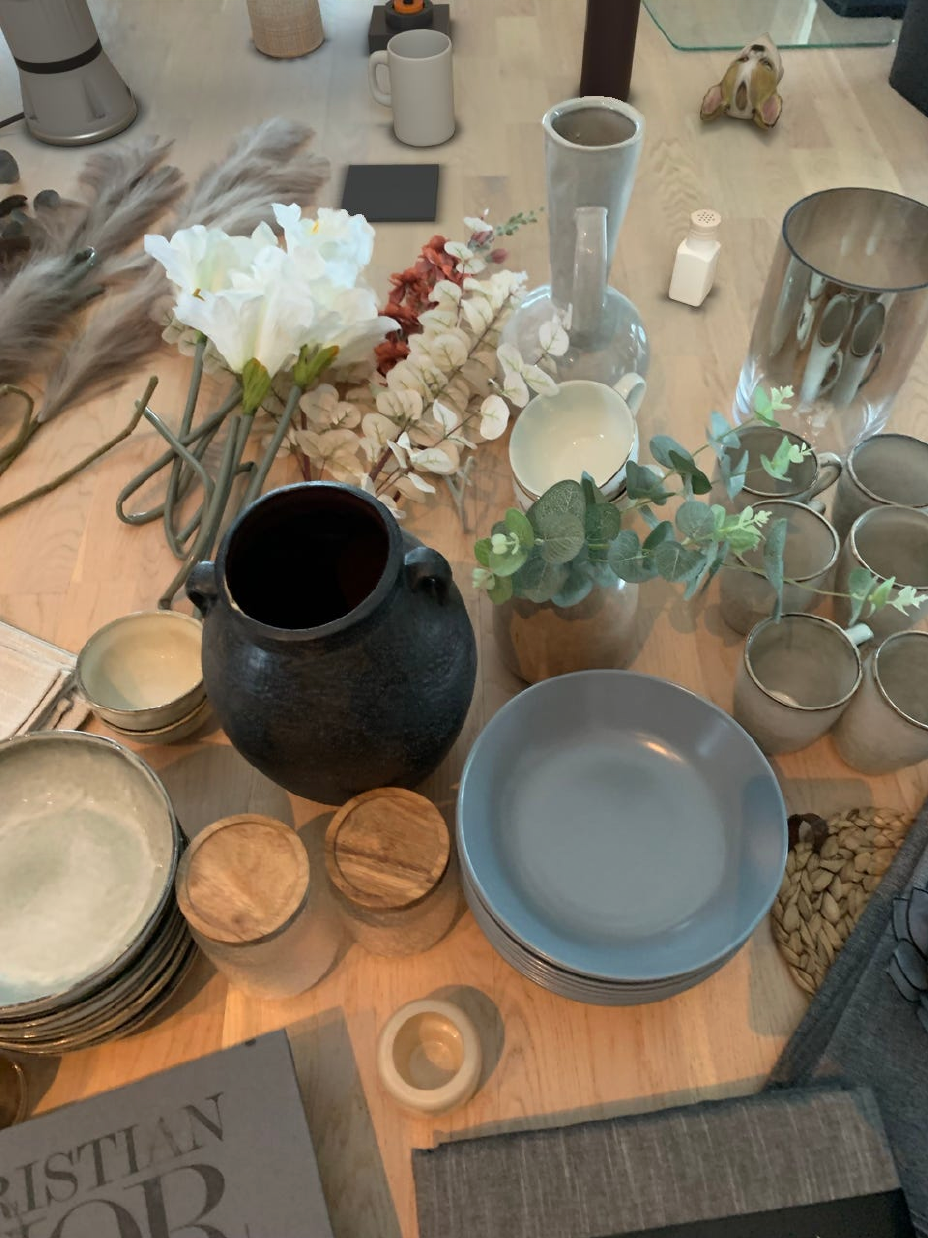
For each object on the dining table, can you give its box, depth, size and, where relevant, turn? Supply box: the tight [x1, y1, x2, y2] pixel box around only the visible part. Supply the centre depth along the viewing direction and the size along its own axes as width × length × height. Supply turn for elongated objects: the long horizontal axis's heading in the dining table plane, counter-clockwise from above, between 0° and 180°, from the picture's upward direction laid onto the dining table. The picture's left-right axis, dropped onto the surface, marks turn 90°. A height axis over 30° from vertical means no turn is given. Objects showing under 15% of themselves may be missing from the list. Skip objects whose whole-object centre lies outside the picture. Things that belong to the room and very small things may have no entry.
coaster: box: [340, 163, 440, 222], centre depth 111 cm, size 12×12×1 cm
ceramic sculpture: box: [699, 31, 785, 131], centre depth 117 cm, size 11×9×15 cm
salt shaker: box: [668, 208, 722, 307], centre depth 95 cm, size 4×4×10 cm
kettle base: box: [367, 0, 451, 55], centre depth 133 cm, size 12×10×4 cm
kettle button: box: [394, 0, 423, 13], centre depth 131 cm, size 4×4×2 cm
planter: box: [245, 0, 325, 59], centre depth 131 cm, size 11×11×10 cm
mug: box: [367, 29, 456, 148], centre depth 116 cm, size 12×8×11 cm
